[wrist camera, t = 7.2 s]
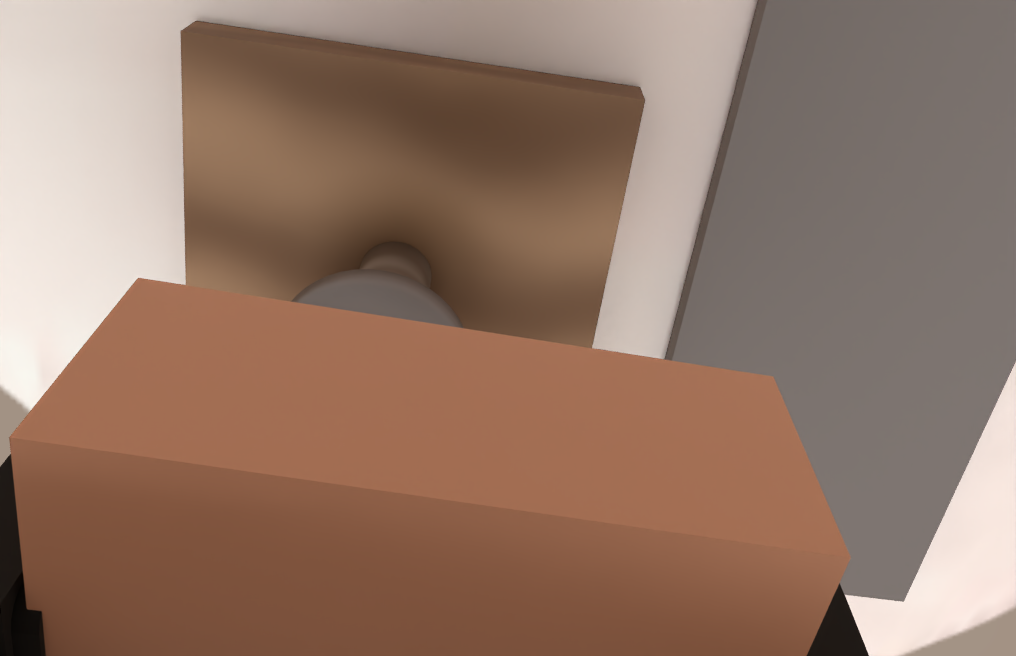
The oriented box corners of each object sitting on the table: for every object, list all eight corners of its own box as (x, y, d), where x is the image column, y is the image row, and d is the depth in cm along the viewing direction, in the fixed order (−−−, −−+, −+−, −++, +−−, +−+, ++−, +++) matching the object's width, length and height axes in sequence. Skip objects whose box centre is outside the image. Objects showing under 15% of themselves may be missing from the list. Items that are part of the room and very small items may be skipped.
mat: (775, -66, 28) (783, -61, 27) (1163, -4, 29) (1183, 2, 28) (615, 550, 40) (617, 566, 39) (895, 584, 40) (903, 601, 40)
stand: (196, 20, 30) (-22, 167, 18) (640, 87, 30) (713, 269, 19) (200, 397, 36) (45, 684, 25) (564, 443, 37) (582, 743, 25)
